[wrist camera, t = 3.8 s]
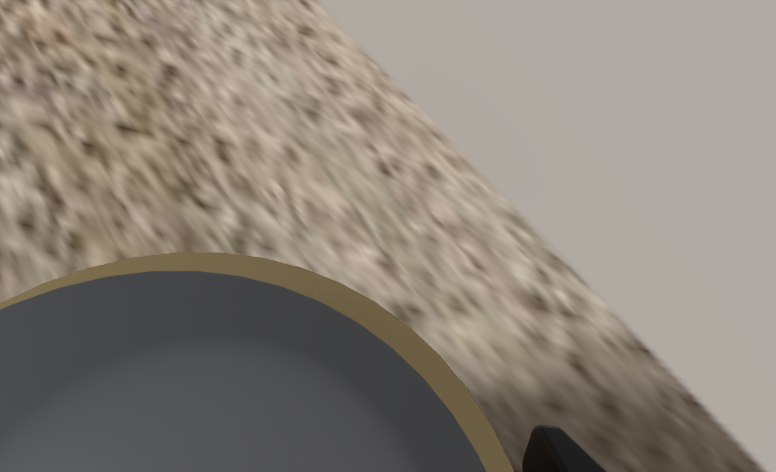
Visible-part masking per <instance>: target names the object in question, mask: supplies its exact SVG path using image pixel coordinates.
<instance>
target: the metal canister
mask: <svg viewBox="0 0 776 472" xmlns="http://www.w3.org/2000/svg"><path fill="white" fill-rule="evenodd" d="M0 472H514V470H513V468H512V466H511V463H510V461H509V459H508V457H507V455H506V453H505V451H504V449H503V447H502V445H501V443H500V441H499V439H498V437H497V435H496V433H495V431H494V429H493V427H492V426H491V424H490V423H489V421H488V420H487V418H486V416H485V415H484V413H483V412H482V410H481V409H480V407H479V406H478V404H477V403H476V401H475V399H474V398H473V396H472V395H471V393H470V392H469V390H468V389H467V388H466V387H465V385H464V384H463V383H462V382H461V380H460V379H459V378H458V377H457V376H456V374H455V373H454V372H453V371H452V370H451V368H450V367H449V366H448V365H447V364H446V362H445V361H444V360H443V359H442V358H441V356H440V355H439V354H438V353H436V352H435V351H434V350H433V349H432V348H431V347H430V346H429V345H428V344H427V343H426V342H425V341H424V340H423V339H422V338H421V337H419V336H418V335H417V334H416V333H415V332H414V331H413V330H412V329H411V328H410V327H409V326H407V325H406V324H405V323H403V322H402V321H400V320H399V319H398V318H396V317H395V316H394V315H392V314H391V313H389V312H388V311H387V310H385V309H384V308H383V307H381V306H380V305H378V304H377V303H376V302H374V301H372V300H370V299H368V298H367V297H365V296H363V295H361V294H359V293H358V292H356V291H354V290H352V289H350V288H348V287H347V286H345V285H343V284H341V283H339V282H337V281H334V280H331V279H329V278H326V277H324V276H321V275H319V274H316V273H314V272H311V271H309V270H306V269H303V268H300V267H296V266H292V265H288V264H285V263H281V262H277V261H273V260H269V259H265V258H259V257H251V256H243V255H235V254H227V253H170V254H161V255H152V256H144V257H135V258H130V259H125V260H121V261H117V262H112V263H108V264H104V265H99V266H95V267H91V268H87V269H84V270H81V271H78V272H75V273H73V274H70V275H67V276H64V277H61V278H58V279H55V280H52V281H49V282H47V283H44V284H41V285H39V286H37V287H35V288H33V289H30V290H28V291H26V292H24V293H22V294H20V295H18V296H15V297H13V298H11V299H9V300H7V301H5V302H3V303H0Z"/></svg>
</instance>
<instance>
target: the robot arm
mask: <svg viewBox="0 0 776 472" xmlns="http://www.w3.org/2000/svg"><path fill="white" fill-rule="evenodd" d="M522 470H523V472H606V471H605V470H604V469H603V468H602V467H601V466H600V465H599V464H598V463H597V462H596V461H595V460H593V459H592V458H591V457H590V456H589V455H588V454H587V453H586V452H585V451H584V450H583V449H582V448H581V447H580V446H579V445H578V444H577V443H575V442H574V441H573V440H572V439H571V438H570V437H569V436H568V435H567V434H566V433H565V432H564V431H563V430H562V429H560V428H559V427H556V426H548V425H537V426H535V427H534V429H533V431H532V434H531V437H530V439H529V442H528V445H527V448H526V451H525V454H524V457H523V464H522Z"/></svg>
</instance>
